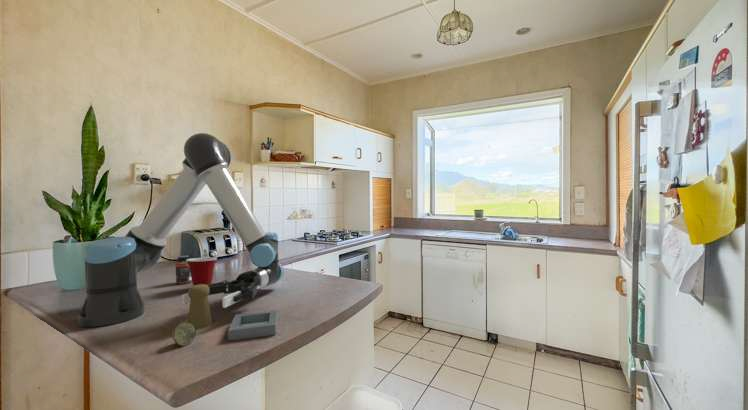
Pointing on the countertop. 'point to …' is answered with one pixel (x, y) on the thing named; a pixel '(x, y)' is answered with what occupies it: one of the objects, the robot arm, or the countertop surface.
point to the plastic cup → (201, 270)
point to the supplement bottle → (183, 271)
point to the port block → (253, 325)
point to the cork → (199, 306)
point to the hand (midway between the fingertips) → (202, 301)
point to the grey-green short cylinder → (183, 333)
